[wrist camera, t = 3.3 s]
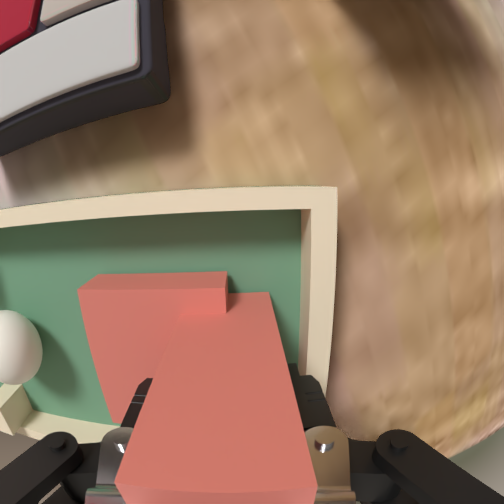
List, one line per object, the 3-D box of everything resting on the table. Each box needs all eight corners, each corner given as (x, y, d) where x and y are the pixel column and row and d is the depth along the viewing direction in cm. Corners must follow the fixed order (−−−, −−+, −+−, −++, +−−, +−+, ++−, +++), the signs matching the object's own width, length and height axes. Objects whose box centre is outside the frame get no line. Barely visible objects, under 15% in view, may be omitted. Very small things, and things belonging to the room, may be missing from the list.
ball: (45, 300, 14) (2, 332, 10) (62, 366, 15) (29, 406, 11) (-3, 298, 14) (-46, 323, 10) (14, 358, 15) (-20, 391, 11)
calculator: (152, -118, 7) (147, 68, 9) (163, -78, 11) (172, 102, 13) (-5, -48, 7) (-50, 153, 9) (23, -24, 11) (-1, 158, 13)
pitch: (318, 185, 14) (356, 188, 9) (307, 425, 17) (323, 485, 12) (-62, 220, 13) (-110, 233, 9) (-15, 393, 17) (-46, 426, 12)
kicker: (268, 269, 14) (324, 451, 4) (269, 399, 15) (293, 576, 5) (98, 274, 13) (-55, 397, 4) (124, 397, 15) (60, 548, 5)
